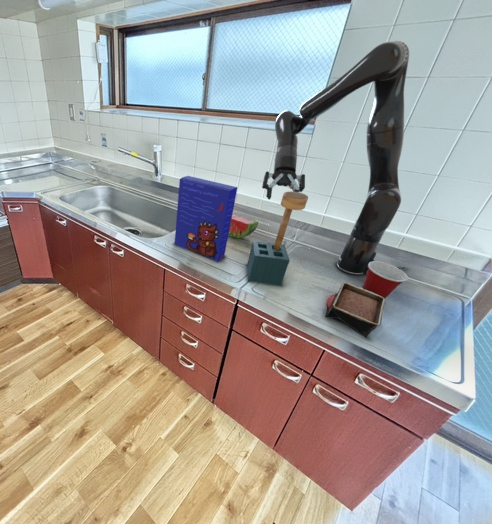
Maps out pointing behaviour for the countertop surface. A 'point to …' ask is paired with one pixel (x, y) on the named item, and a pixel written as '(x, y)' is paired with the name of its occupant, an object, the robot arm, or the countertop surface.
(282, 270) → the holder
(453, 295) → the countertop surface
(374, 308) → the baking dish
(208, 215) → the cereal box
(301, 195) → the wooden mallet
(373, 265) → the plastic cup
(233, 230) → the fruit slice
